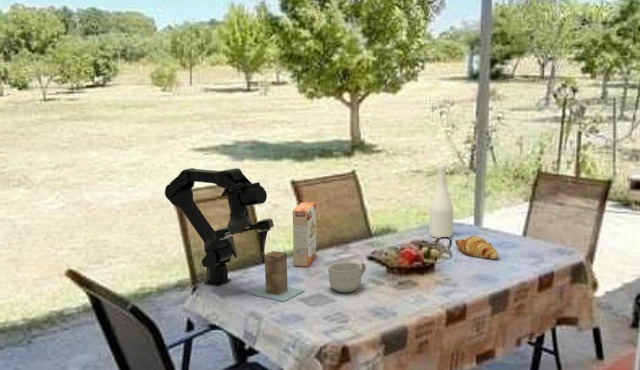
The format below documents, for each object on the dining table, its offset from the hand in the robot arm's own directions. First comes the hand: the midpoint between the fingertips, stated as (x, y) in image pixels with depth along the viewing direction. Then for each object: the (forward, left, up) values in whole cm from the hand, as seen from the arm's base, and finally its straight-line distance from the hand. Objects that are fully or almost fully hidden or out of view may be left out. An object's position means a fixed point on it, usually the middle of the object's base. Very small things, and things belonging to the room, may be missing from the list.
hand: (249, 255), depth 210 cm
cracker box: (-2, +34, -12) cm, 36 cm away
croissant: (+47, +74, -12) cm, 89 cm away
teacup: (+27, +18, -12) cm, 34 cm away
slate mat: (+9, +2, -12) cm, 15 cm away
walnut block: (+9, +2, -11) cm, 15 cm away
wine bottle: (+26, +91, -12) cm, 95 cm away
